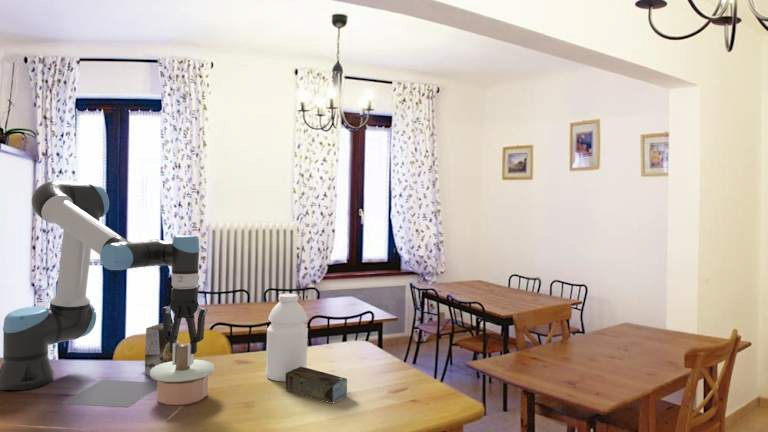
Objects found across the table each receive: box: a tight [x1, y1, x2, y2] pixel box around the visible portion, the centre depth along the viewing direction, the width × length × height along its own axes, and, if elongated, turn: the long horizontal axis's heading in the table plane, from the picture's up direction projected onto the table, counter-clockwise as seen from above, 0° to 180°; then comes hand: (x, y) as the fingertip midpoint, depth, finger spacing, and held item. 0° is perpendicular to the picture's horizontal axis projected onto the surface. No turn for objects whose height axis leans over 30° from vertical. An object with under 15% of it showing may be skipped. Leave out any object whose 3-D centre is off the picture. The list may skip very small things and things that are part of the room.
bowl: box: [156, 375, 209, 406], centre depth 154 cm, size 14×14×6 cm
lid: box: [149, 343, 215, 382], centre depth 154 cm, size 18×18×8 cm
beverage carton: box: [284, 367, 348, 404], centre depth 161 cm, size 8×19×7 cm, turn 60°
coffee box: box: [144, 322, 178, 376], centre depth 176 cm, size 9×6×16 cm
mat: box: [60, 379, 157, 408], centre depth 155 cm, size 20×20×1 cm
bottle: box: [265, 293, 309, 382], centre depth 177 cm, size 14×14×28 cm
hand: (182, 363), depth 154 cm, fingers closed on lid, 4 cm apart
